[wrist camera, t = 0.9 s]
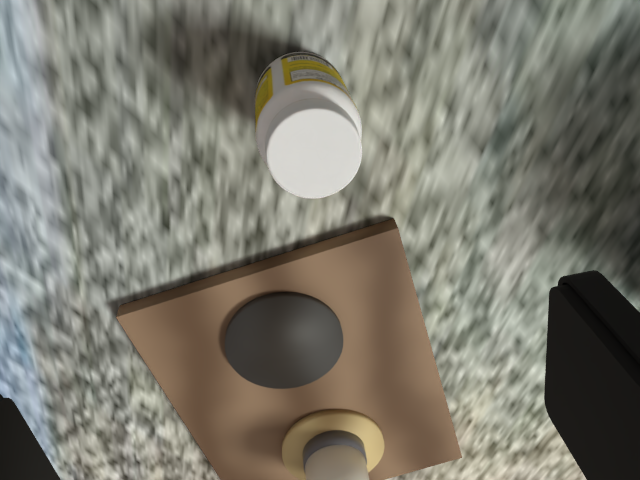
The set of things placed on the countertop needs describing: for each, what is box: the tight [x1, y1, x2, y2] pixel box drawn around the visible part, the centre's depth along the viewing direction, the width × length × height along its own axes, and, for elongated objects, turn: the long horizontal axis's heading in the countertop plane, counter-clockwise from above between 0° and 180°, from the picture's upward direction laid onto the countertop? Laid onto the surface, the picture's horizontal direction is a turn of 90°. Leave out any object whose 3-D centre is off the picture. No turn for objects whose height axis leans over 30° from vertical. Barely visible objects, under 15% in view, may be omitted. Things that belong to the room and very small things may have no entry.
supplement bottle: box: [255, 52, 362, 198], centre depth 27 cm, size 5×5×8 cm
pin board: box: [116, 219, 462, 480], centre depth 41 cm, size 18×22×2 cm
